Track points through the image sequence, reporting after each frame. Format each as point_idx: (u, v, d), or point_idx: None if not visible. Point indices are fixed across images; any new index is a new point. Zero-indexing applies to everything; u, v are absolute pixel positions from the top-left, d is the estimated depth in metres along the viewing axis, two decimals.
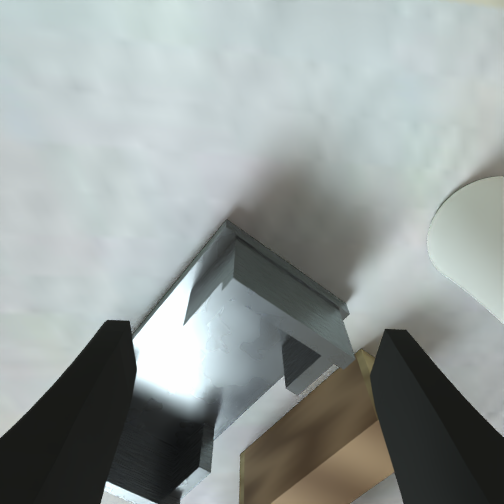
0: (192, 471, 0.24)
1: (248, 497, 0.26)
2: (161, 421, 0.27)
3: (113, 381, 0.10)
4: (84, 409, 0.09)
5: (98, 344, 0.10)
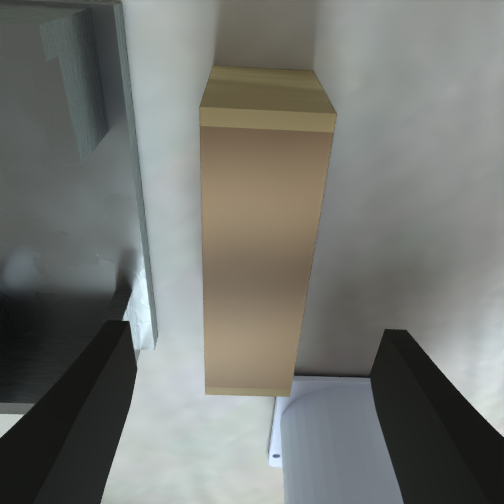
0: None
1: None
2: (75, 314, 0.21)
3: (113, 381, 0.10)
4: (84, 409, 0.09)
5: (98, 344, 0.10)
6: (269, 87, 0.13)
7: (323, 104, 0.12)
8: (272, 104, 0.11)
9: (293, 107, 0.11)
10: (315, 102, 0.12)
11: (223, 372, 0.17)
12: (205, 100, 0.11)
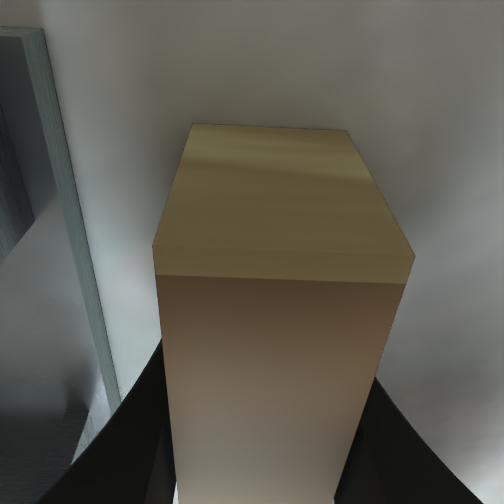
0: None
1: None
2: (15, 436, 0.15)
3: None
4: (167, 411, 0.09)
5: None
6: (282, 177, 0.08)
7: (382, 222, 0.06)
8: (291, 229, 0.06)
9: (330, 237, 0.06)
10: (367, 218, 0.07)
11: None
12: (167, 220, 0.06)
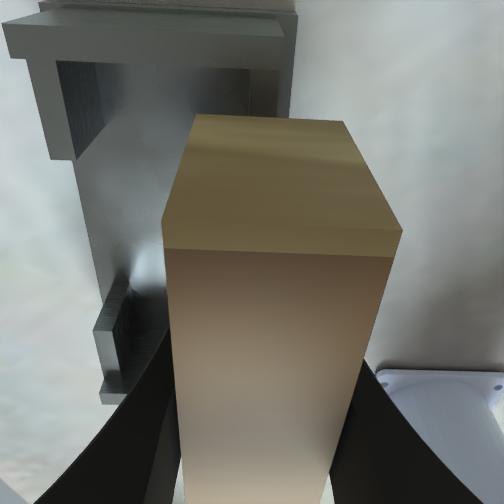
0: None
1: None
2: None
3: None
4: (167, 411, 0.09)
5: (168, 346, 0.10)
6: (281, 162, 0.08)
7: (373, 202, 0.07)
8: (288, 207, 0.07)
9: (325, 214, 0.07)
10: (359, 198, 0.07)
11: None
12: (173, 199, 0.07)
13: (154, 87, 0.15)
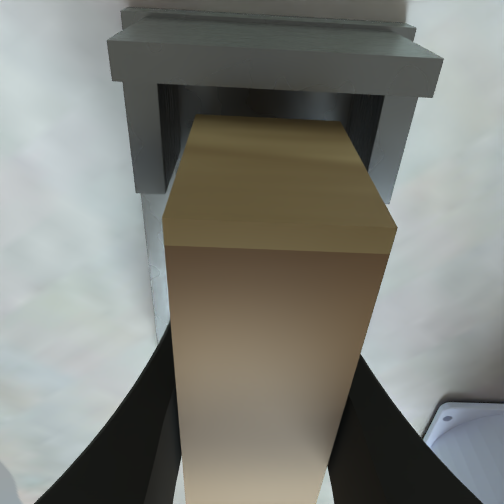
0: None
1: None
2: None
3: None
4: (167, 411, 0.09)
5: (169, 346, 0.10)
6: (279, 161, 0.08)
7: (369, 201, 0.07)
8: (286, 205, 0.07)
9: (322, 212, 0.07)
10: (356, 197, 0.07)
11: None
12: (174, 198, 0.07)
13: (242, 107, 0.13)
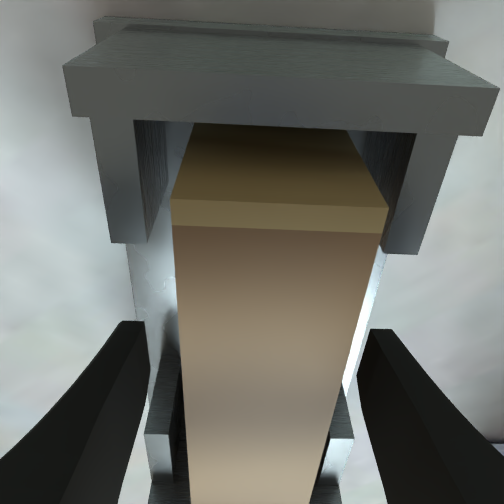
0: (327, 446, 0.15)
1: None
2: None
3: (130, 381, 0.10)
4: (104, 410, 0.09)
5: (115, 345, 0.10)
6: (279, 149, 0.09)
7: (363, 184, 0.08)
8: (285, 188, 0.07)
9: (318, 194, 0.07)
10: (350, 181, 0.08)
11: None
12: (180, 181, 0.07)
13: None
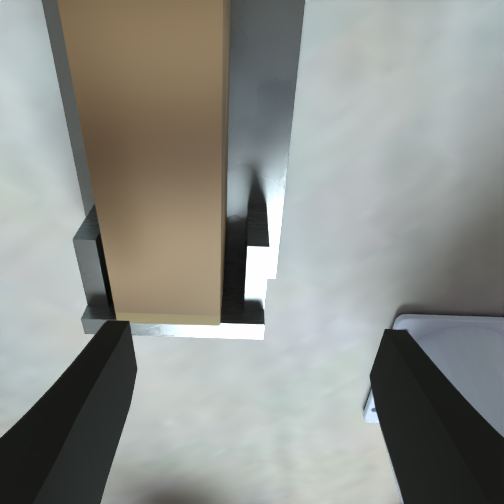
0: (246, 259, 0.16)
1: None
2: None
3: (113, 381, 0.10)
4: (84, 409, 0.09)
5: (98, 344, 0.10)
6: None
7: None
8: None
9: None
10: None
11: (134, 292, 0.14)
12: None
13: None
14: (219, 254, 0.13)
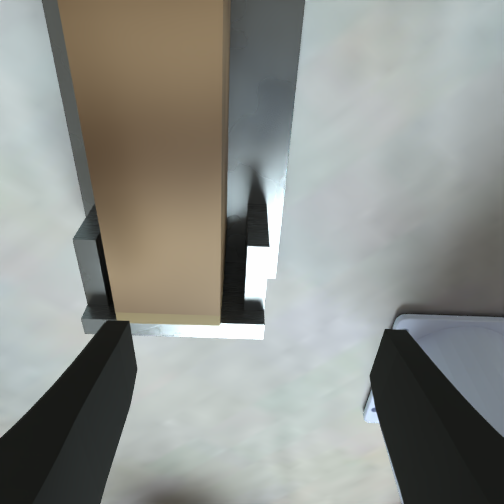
0: (246, 259, 0.16)
1: None
2: None
3: (113, 381, 0.10)
4: (84, 409, 0.09)
5: (98, 344, 0.10)
6: None
7: None
8: None
9: None
10: None
11: (134, 292, 0.14)
12: None
13: None
14: (219, 254, 0.13)
